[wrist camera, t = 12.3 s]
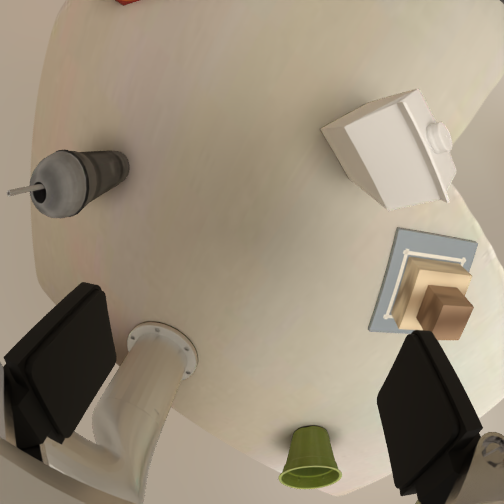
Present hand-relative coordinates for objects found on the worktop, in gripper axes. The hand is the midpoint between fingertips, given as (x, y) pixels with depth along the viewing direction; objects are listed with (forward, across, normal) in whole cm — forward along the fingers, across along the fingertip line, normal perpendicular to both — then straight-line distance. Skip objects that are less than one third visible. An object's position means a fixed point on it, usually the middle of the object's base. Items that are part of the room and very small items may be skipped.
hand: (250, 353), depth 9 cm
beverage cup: (+30, +22, 0) cm, 37 cm away
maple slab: (+29, -24, +11) cm, 39 cm away
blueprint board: (+30, -24, +11) cm, 40 cm away
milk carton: (+30, -9, -7) cm, 32 cm away
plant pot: (+30, -14, +48) cm, 59 cm away
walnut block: (+25, -24, +11) cm, 36 cm away
